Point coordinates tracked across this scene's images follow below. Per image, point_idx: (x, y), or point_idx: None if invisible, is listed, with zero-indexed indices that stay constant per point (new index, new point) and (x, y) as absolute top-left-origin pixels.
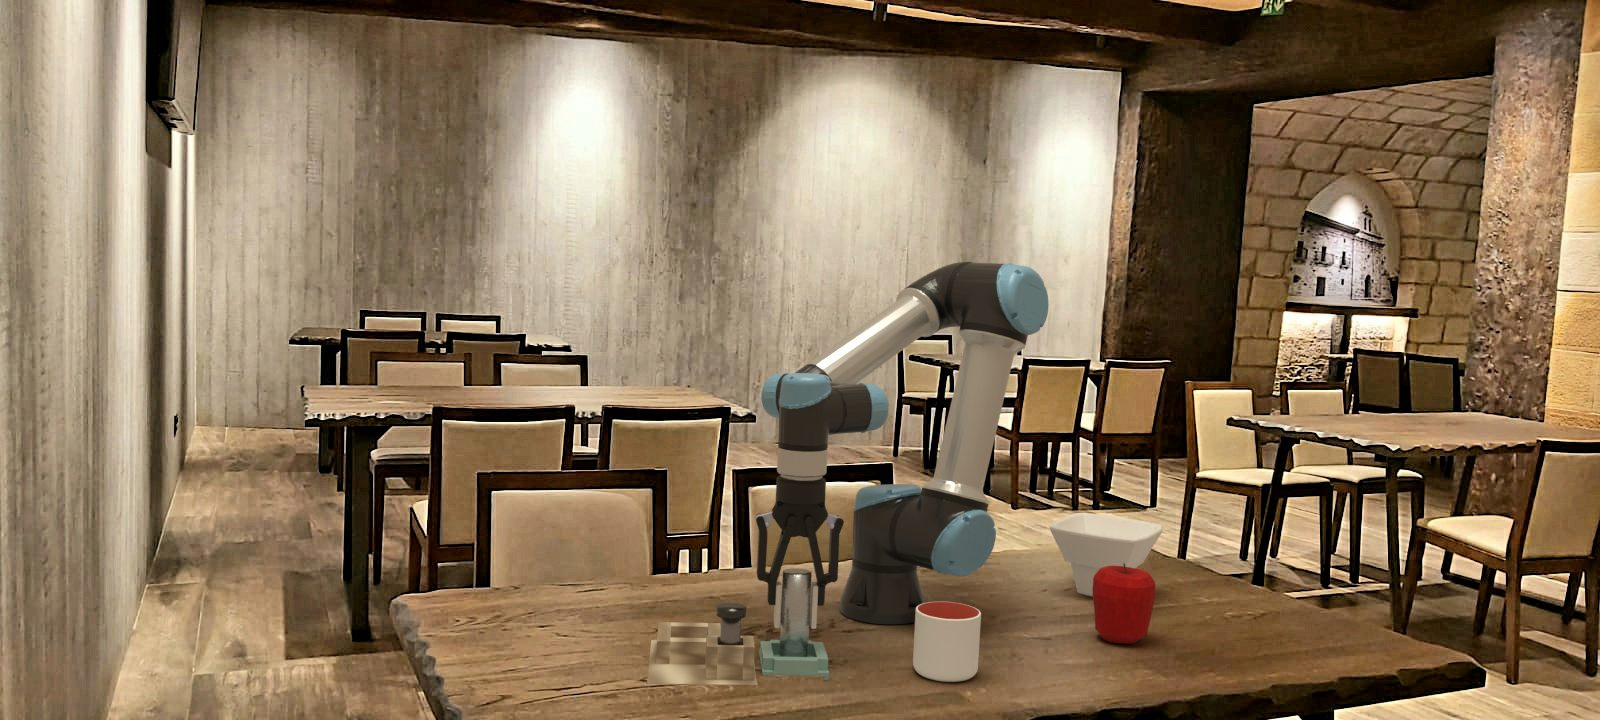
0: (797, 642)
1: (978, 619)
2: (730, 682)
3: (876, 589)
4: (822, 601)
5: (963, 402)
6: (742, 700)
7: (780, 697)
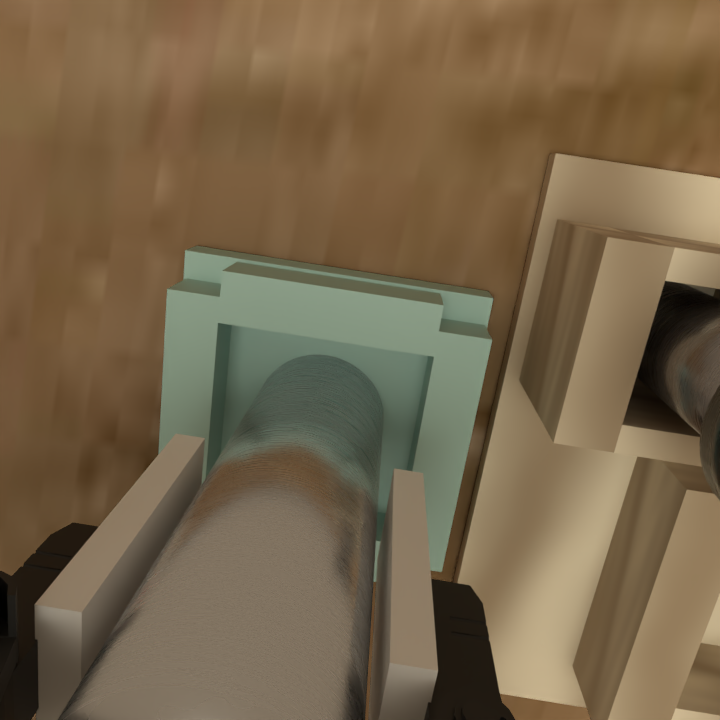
0: (302, 393)
1: None
2: (674, 202)
3: None
4: (61, 542)
5: None
6: (660, 19)
7: (465, 43)
